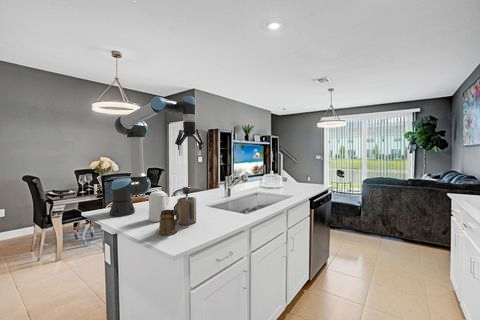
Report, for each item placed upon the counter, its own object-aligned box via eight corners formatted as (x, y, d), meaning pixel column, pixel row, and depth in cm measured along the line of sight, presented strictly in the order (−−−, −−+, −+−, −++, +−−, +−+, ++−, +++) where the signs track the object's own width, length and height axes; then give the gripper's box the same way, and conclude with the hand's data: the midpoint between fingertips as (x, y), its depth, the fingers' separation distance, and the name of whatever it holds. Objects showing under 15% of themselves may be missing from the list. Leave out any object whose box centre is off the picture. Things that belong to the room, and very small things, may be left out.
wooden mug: (178, 237, 112) (177, 200, 111) (154, 235, 116) (153, 199, 115) (187, 231, 120) (187, 196, 119) (165, 229, 124) (164, 195, 123)
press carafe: (175, 222, 136) (174, 198, 135) (191, 219, 142) (190, 196, 141) (184, 227, 126) (184, 201, 126) (201, 223, 133) (200, 199, 132)
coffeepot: (136, 225, 130) (135, 192, 129) (160, 213, 155) (159, 185, 154) (154, 227, 128) (153, 193, 127) (175, 214, 152) (175, 186, 152)
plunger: (180, 218, 135) (179, 187, 135) (189, 216, 139) (188, 186, 138) (184, 221, 131) (184, 188, 130) (194, 219, 134) (193, 187, 134)
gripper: (169, 122, 147) (169, 155, 148) (203, 119, 138) (204, 155, 139) (176, 123, 154) (176, 155, 155) (209, 121, 145) (210, 155, 146)
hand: (189, 155), depth 147 cm, fingers open, 13 cm apart
